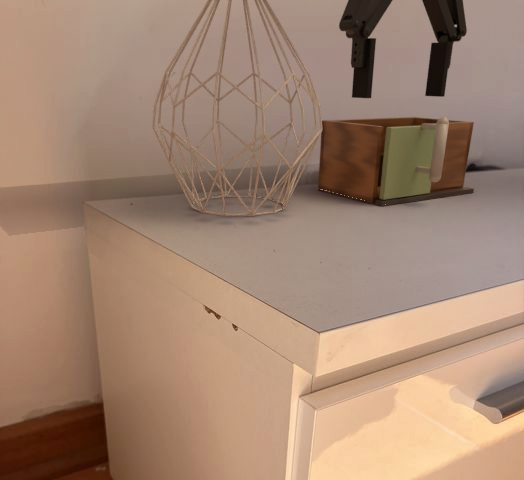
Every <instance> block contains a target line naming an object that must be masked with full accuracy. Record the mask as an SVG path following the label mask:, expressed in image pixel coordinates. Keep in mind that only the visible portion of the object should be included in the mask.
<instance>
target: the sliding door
mask: <svg viewBox="0 0 524 480" xmlns="http://www.w3.org/2000/svg"><path fill="white" fill-rule="evenodd" d="M437 119H438V120H437V123H436V124H427V123H422V125H421V126H400V127H387V129H386V139H385V148H384V158H383V168H382V178H381V187H380V197H379V199H382V200H386V199H393V198H400V197H407V196H414V195H422V194H429V193H430V188H431V181H432V182H438V181H439V180H440V179H441V174H442V167H443V161H444V154H445V147H446V140H447V133H448V126H449V120H450V119H449V118H448V117H445V116H441V117H439V118H437Z"/></svg>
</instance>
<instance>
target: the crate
mask: <svg viewBox="0 0 524 480" xmlns="http://www.w3.org/2000/svg"><path fill="white" fill-rule="evenodd" d="M438 119H439V118H432V117H431V118H430V117H419V116H404V117H403V116H402V117H401V116H400V117H380V118H379V117H376V118H352V119H350V118H348V119H324V120H323V119H322V129H323V130H322V132H321V135H320V148H319V164H318V182H317V183H318V184H317V187H318V188H319V189H318V188H317V190H318V191H320V192H323V193H324V192H325V193H328V194H331V195H336V196H339V197H344V198H348V199H352V200H355V201H360V202H364V203H367V204H371V205H372V204H374V205H375V206H379V207H386V206H387V207H388V206H394V205H401V204H407V203H414V202H422V201H428V200H434V199H441V198H447V197H454V196H463V195H467V194H474V192H475V188H473V187H468V186H465V187H464V185H465V179H466V173H467V166H468V161H469V155H470V149H471V143H472V136H473V129H474V126H475V125H474V124H475V122H474V121H464V120H453V119H448V120H449V126H448V133H447V140H446V147H445V154H444V161H443V167H442V174H441V179H440V180H439V181H438V182H432V181H431V188H430V193H429V194H422V195H414V196H407V197H400V198H393V199H386V200H382V199H379V197H380V187H381V186H380V185H378V177H379V167H380V157H381V152H384V148H385V139H386V129H387V127H400V126H421V125H422V123H427V124H436V123H437V120H438ZM320 189H323V190H320ZM324 190H327V191H324ZM328 191H330V192H328ZM332 192H334V193H332ZM336 193H338V194H336ZM340 194H342V195H340ZM344 195H345V196H344ZM348 196H349V197H348ZM352 197H353V198H352ZM356 198H357V199H356ZM360 199H362V200H360ZM364 200H365V201H364ZM385 204H386V205H385Z"/></svg>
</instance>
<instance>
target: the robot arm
mask: <svg viewBox="0 0 524 480" xmlns="http://www.w3.org/2000/svg"><path fill="white" fill-rule="evenodd" d="M392 2H393V0H347V3H346V5H345V7H344V10H343V14H342V16H341V18H340V20H339V23H338V28H339V30H340V31H341V32H345V36H346V38H347V39H351V54H350V55H351V58H350V66H351V69H352V68H353V73H352V89H351V98H353V99H372V95H373V94H372V92H373V81H374V70H375V69H374V68H375V58H376V57H375V56H376V44H377V38H375V37H370V36H371V34H373V32H374V30H375V29H376V28H377V26H378V24H379V23H380V21H381V19H382V18H383V16H384V15H385V13H386V12H387V10H388V9H389V7H390V6H391V4H392ZM421 2H422V4H423V7H424V9H425V11H426V14H427V17H428V20H429V23H430V26H431V28H432V31H433V33H434V37H435V39H436V42H431V44H430V51H429V60H428V69H427V78H426V84H425V85H426V86H425V94H424V96H425V97H436V98H437V97H438V98H439V97H443V98H444V97H445V96H446V95H445V94H446V87H447V78H448V72H449V69H450V67H451V62H452V54H453V49H454V48H453V47H454V43H455V42H457V43H458V42H460V41H461V40H462V39H463V37H465V36H466V35H467V32H468V29H467V22H466V13H465V7H464V0H421Z"/></svg>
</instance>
